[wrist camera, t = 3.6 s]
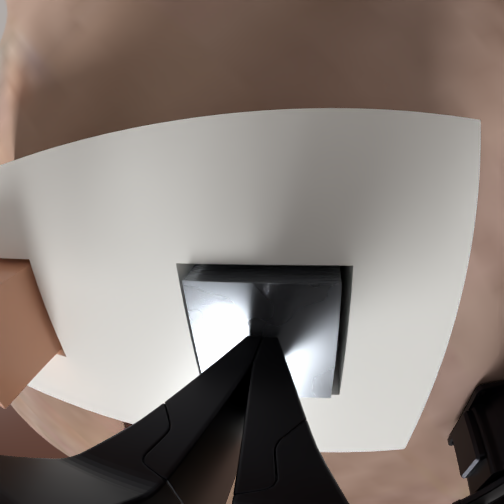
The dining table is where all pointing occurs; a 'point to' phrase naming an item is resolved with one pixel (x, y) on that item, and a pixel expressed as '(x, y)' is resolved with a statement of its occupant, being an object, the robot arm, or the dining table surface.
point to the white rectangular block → (251, 250)
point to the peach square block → (22, 329)
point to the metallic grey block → (269, 315)
